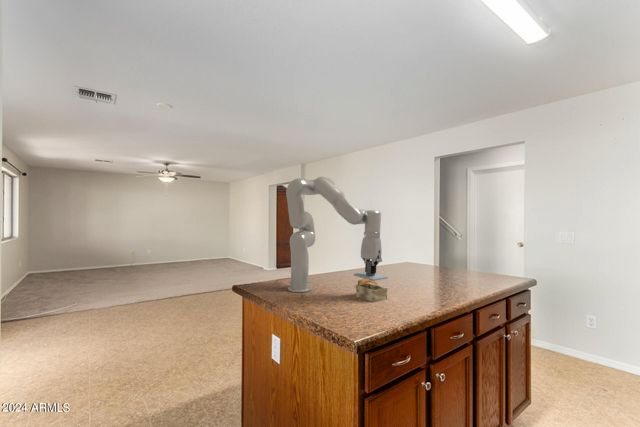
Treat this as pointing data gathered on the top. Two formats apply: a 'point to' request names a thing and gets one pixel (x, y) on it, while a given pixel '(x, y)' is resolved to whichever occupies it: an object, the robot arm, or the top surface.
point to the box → (371, 292)
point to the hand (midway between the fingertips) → (370, 272)
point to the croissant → (366, 282)
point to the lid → (368, 273)
